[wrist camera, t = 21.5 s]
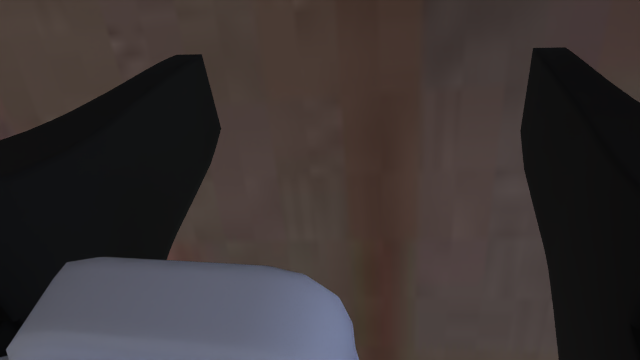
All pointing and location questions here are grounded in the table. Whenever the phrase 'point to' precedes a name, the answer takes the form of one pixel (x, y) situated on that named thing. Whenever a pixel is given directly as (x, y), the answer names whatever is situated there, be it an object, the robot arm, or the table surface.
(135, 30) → the table surface
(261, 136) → the table surface
